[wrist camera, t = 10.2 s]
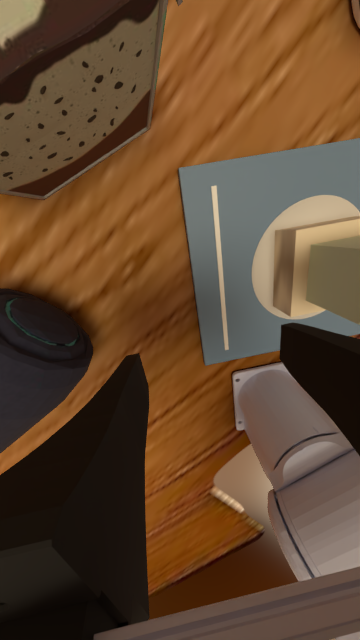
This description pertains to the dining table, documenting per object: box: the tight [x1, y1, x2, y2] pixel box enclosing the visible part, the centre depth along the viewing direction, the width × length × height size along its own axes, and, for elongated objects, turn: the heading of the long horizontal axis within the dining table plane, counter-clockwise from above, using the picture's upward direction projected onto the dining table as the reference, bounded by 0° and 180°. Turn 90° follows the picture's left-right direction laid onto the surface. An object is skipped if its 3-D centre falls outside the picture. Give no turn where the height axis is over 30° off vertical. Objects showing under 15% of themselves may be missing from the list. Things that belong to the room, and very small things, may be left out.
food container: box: [0, 0, 182, 200], centre depth 9 cm, size 12×6×10 cm, turn 119°
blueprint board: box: [178, 138, 360, 365], centre depth 18 cm, size 18×22×4 cm
